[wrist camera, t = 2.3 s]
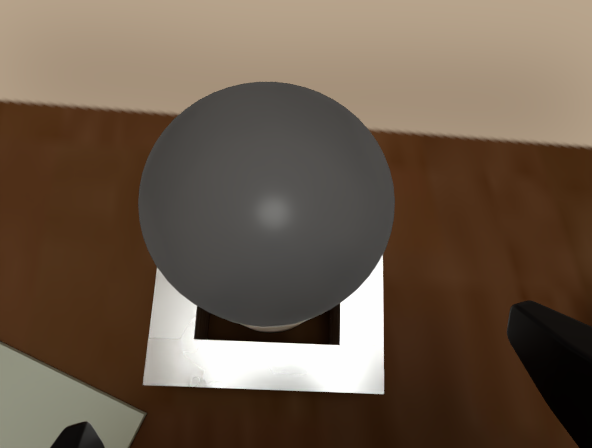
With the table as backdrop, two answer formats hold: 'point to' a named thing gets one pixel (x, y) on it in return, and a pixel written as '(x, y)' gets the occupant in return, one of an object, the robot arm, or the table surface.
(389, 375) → the table surface
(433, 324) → the table surface
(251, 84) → the plug
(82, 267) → the table surface
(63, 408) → the mat
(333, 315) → the housing
